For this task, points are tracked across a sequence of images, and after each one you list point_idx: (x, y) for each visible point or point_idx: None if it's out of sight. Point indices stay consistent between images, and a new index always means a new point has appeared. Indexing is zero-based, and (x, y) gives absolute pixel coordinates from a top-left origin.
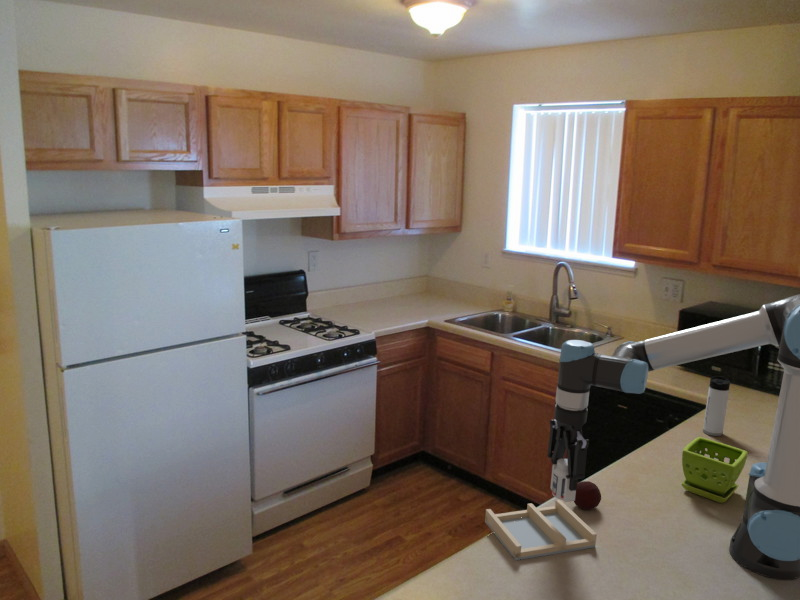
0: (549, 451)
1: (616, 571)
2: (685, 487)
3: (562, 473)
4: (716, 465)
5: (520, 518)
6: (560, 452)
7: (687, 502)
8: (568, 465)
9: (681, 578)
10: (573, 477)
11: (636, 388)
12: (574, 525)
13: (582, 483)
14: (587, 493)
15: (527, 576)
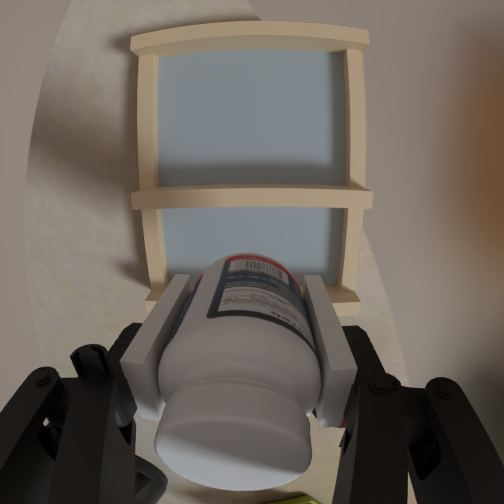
0: (455, 419)
1: (75, 281)
2: (305, 499)
3: (185, 364)
4: None
5: (341, 150)
6: (338, 502)
7: (278, 487)
8: (92, 439)
9: (69, 370)
10: (45, 371)
11: None
12: None
13: None
14: None
15: (88, 63)
